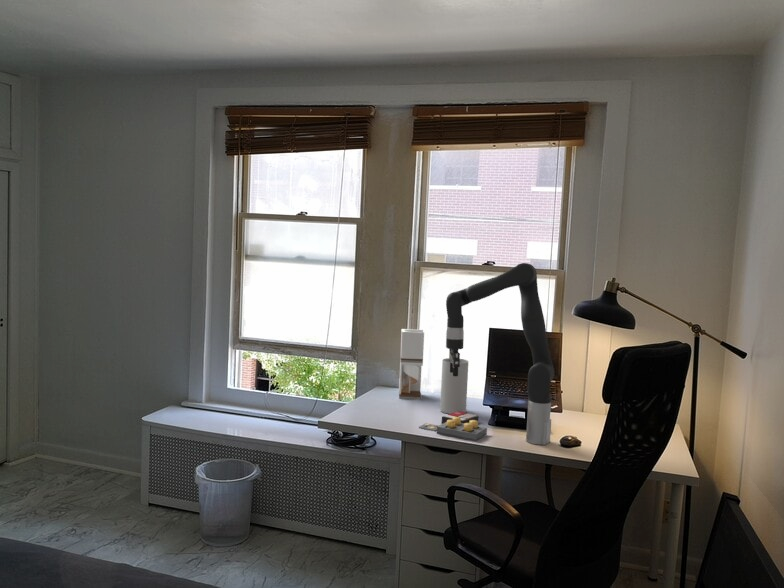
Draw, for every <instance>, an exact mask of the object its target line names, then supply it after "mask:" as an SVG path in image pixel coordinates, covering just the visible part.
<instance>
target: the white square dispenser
mask: <svg viewBox="0 0 784 588" xmlns="http://www.w3.org/2000/svg"><path fill="white" fill-rule="evenodd" d="M400 331H401V334H400V336H401V337H400V357H399V359H400V360H399V362H400V363H399V378H398V379H399V380H398V381H399V382H398V399H401V400H419V401H421V400H422V393H421V388H422V387H421V385H422V367H423V365H424V344H425V332H424V329H415V328H414V329H412V328H401V330H400Z"/></svg>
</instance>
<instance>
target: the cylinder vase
mask: <svg viewBox="0 0 784 588" xmlns="http://www.w3.org/2000/svg"><path fill="white" fill-rule="evenodd" d="M441 363H442V364H441V383H440V384H441V385H440V386H441V387H440V401H439V402H440V403H439V405H440V407H439V410H440V411H441V412H442V413H444V414H446V415H448V414H451V413H454V412H458V411H460V412H464V413H467V412H466V411H467V398H468V379H469V375H468V374H469V360H467V359H464V358H460V367H459V368H458V376H453V373H451V372H450V363H449V357H448V358H443V359H442V362H441ZM455 364H457V363H455Z"/></svg>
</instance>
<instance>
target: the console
mask: <svg viewBox="0 0 784 588" xmlns="http://www.w3.org/2000/svg"><path fill="white" fill-rule="evenodd" d="M436 434H438V435H443V436H448V437H453V438H456V439H457V438H458V439H462V440H466V441H471V442H477V441H479V440H480V439H482V438H484V437H485V436H487V434H488V427H485V426H480V425H478V429H472V432H466V431H464V423H461V424H460V426H456V425H455V428H454V429H450V428H447V422H445V423H443V424H439V425H438V426H437V431H436Z"/></svg>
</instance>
